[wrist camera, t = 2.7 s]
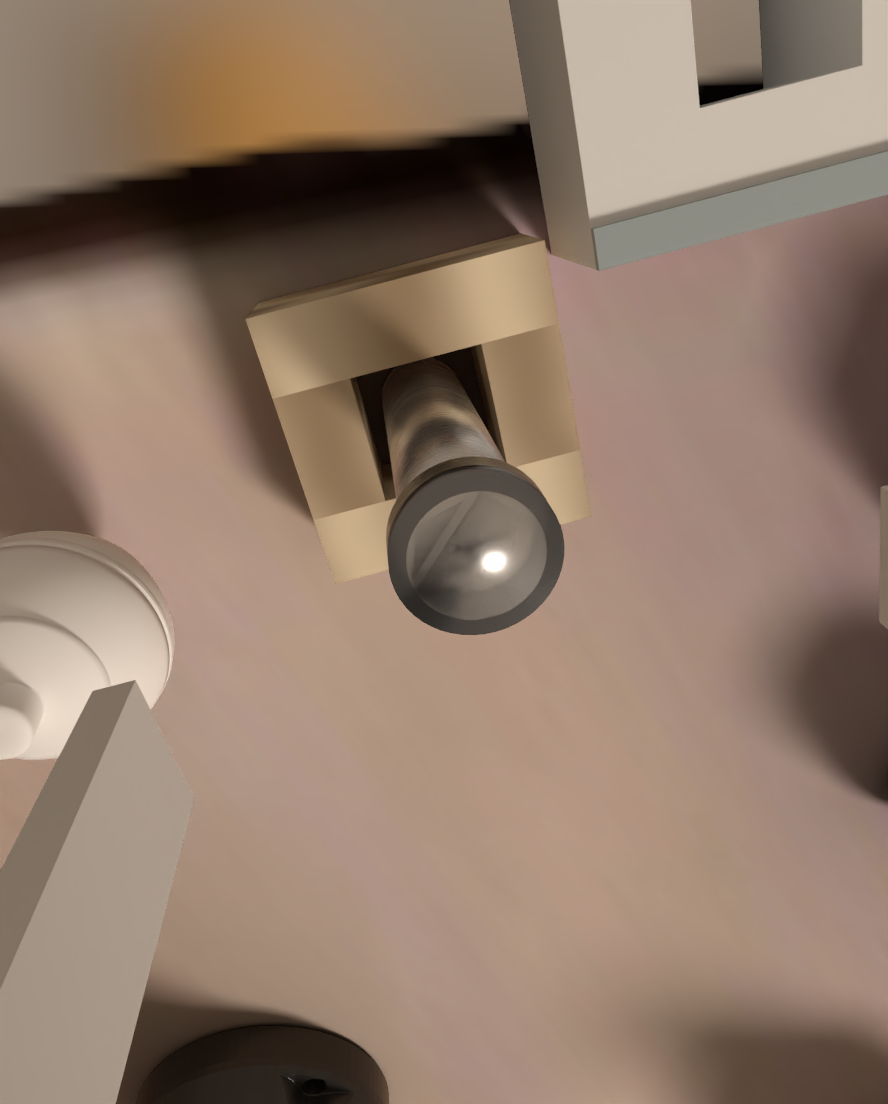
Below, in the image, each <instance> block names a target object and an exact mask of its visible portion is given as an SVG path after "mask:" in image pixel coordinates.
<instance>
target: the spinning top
mask: <svg viewBox="0 0 888 1104" xmlns="http://www.w3.org/2000/svg"><path fill="white" fill-rule="evenodd" d="M173 655H174V628H173V623H172V618H171V614H170V611H169V608H168V606H167V603H166V601H165V598H164V596H163V594H162V592H161V591H160V589H159V587H158V586H157V584H156V583H155V581H154V580H153V578H152V577H151V576H150V574H149V573H148V572H147V571H146V569H145V568H144V567H143V566H142V565H141V564H140V563H139V562H138V561H137V560H136V559H135V558H134V557H133V556H132V555H131V554H129V553H128V552H127V551H125V550H124V549H122V548H120V547H119V546H117V545H115V544H113V543H111V542H109V541H107V540H104V539H101V538H98V537H95V536H91V535H87V534H81V533H75V532H67V531H35V532H27V533H21V534H16V535H12V536H8V537H5V538H2V539H0V759H10V758H15V759H25V760H42V759H52V758H58V757H59V756H60V754H61V752H62V750H63V748H64V746H65V744H66V742H67V740H68V738H69V736H70V734H71V732H72V730H73V728H74V726H75V724H76V722H77V720H78V718H79V716H80V714H81V712H82V711H83V709H84V707H85V705H86V703H87V701H88V699H89V697H90V695H91V693H92V691H94V690H98V689H102V688H106V687H110V686H114V685H118V684H121V683H125V682H129V681H133V680H136V682H137V684H138V686H139V688H140V690H141V692H142V694H143V696H144V698H145V700H146V702H147V704H148V706H149V708H150V710H151V708H152V707H153V706H154V704H155V703H156V701H157V700H158V698H159V697H160V695H161V693H162V692H163V690H164V688H165V686H166V683H167V681H168V678H169V675H170V672H171V667H172V660H173Z"/></svg>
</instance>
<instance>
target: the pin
mask: <svg viewBox="0 0 888 1104" xmlns="http://www.w3.org/2000/svg"><path fill="white" fill-rule="evenodd" d="M382 405H383V412H384V419H385V425H386V432H387V439H388V446H389V452H390V459H391V466H392V473H393V480H394V486H395V493H396V502H395V504H394V506H393V507H392V510H391V513H390V516H389V519H388V523H387V528H386V547H387V557H388V567H389V574H390V578H391V582H392V584H393V587H394V589H395V592H396V593H397V595H398V597H399V599H400V600H401V601H402V603H403V604H404V605H405V607H406V608H407V609H408V610H409V611H410V612H411V613H412V614H413V615H414V616H416V617H417V618H418V619H420V620H421V621H423V622H424V623H426V624H428V625H430V626H432V627H434V628H437V629H439V630H442V631H446V632H449V633H454V634H461V635H478V634H487V633H491V632H496V631H499V630H502V629H505V628H508V627H510V626H512V625H514V624H516V623H518V622H520V621H521V620H523V619H525V618H526V617H527V616H529V615H530V614H531V613H533V612H534V611H535V610H536V609H537V608H538V607H539V606H540V605H541V604H542V603H543V602H544V601H545V599H546V598H547V597H548V596H549V594H550V593H551V591H552V590H553V588H554V586H555V584H556V582H557V580H558V578H559V575H560V572H561V569H562V565H563V559H564V539H563V533H562V530H561V526H560V523H559V521H558V519H557V516H556V514H555V513H554V511H553V510H552V508H551V506H550V505H549V503H548V502H547V500H546V498H545V497H544V495H543V494H542V492H541V490H540V489H539V487H538V486H537V485H536V484H535V483H534V481H533V480H532V479H531V478H529V477H528V476H527V475H526V474H525V473H524V472H522V471H521V470H519V469H518V468H516V467H514V466H512V465H510V464H508V463H506V462H505V461H504V459H503V457H502V455H501V454H500V452H499V450H498V448H497V447H496V445H495V443H494V441H493V439H492V438H491V436H490V434H489V432H488V431H487V429H486V427H485V425H484V423H483V422H482V420H481V418H480V416H479V415H478V413H477V411H476V409H475V407H474V406H473V404H472V402H471V400H470V399H469V397H468V395H467V393H466V391H465V390H464V388H463V386H462V384H461V383H460V381H459V379H458V377H457V376H456V374H455V373H454V372H453V370H452V369H451V368H450V367H449V366H447V365H446V364H445V363H443V362H441V361H439V360H437V359H434V358H426V359H422V360H418V361H414V362H411V363H407V364H403V365H399V366H397V367H395V368H394V369H393V370H392V371H391V373H390V374H389V375H388V377H387V379H386V381H385V383H384V386H383V391H382Z"/></svg>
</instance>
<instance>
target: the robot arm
mask: <svg viewBox="0 0 888 1104" xmlns="http://www.w3.org/2000/svg"><path fill="white" fill-rule="evenodd" d="M879 622H880V623H881V624H882V625H883V626H885V627H886V628H887V629H888V485H886V486H882V487H881V495H880V580H879ZM193 802H194V796H193V794H192V792H191V790H190V788H189V786H188V784H187V782H186V780H185V778H184V776H183V774H182V772H181V770H180V768H179V766H178V764H177V762H176V760H175V758H174V756H173V754H172V752H171V750H170V748H169V746H168V744H167V742H166V740H165V738H164V736H163V734H162V732H161V730H160V728H159V726H158V724H157V722H156V720H155V718H154V716H153V714H152V712H151V710H150V708H149V706H148V704H147V702H146V700H145V698H144V696H143V694H142V692H141V690H140V688H139V686H138V684H137V682H136V680H133V681H129V682H125V683H121V684H118V685H114V686H110V687H106V688H102V689H98V690H94V691H92V693H91V695H90V697H89V699H88V701H87V703H86V705H85V707H84V709H83V711H82V712H81V714H80V716H79V718H78V720H77V722H76V724H75V726H74V728H73V730H72V732H71V734H70V736H69V738H68V740H67V742H66V744H65V746H64V748H63V750H62V752H61V754H60V756H59V757H58V759H57V761H56V763H55V765H54V767H53V769H52V771H51V773H50V775H49V777H48V779H47V781H46V783H45V785H44V787H43V789H42V791H41V793H40V795H39V797H38V799H37V801H36V803H35V804H34V806H33V808H32V810H31V812H30V814H29V816H28V818H27V820H26V822H25V824H24V826H23V828H22V830H21V832H20V834H19V836H18V838H17V840H16V842H15V844H14V846H13V848H12V850H11V851H10V853H9V855H8V857H7V859H6V861H5V863H4V865H3V867H2V869H1V871H0V1104H116V1100H117V1096H118V1093H119V1089H120V1085H121V1081H122V1077H123V1073H124V1069H125V1066H126V1062H127V1058H128V1054H129V1050H130V1046H131V1042H132V1038H133V1035H134V1031H135V1027H136V1023H137V1019H138V1015H139V1011H140V1007H141V1004H142V1000H143V996H144V992H145V988H146V984H147V980H148V976H149V973H150V969H151V965H152V961H153V957H154V953H155V949H156V946H157V942H158V938H159V934H160V930H161V926H162V922H163V918H164V915H165V911H166V907H167V903H168V899H169V895H170V891H171V887H172V884H173V880H174V876H175V872H176V868H177V864H178V860H179V856H180V853H181V849H182V845H183V841H184V837H185V833H186V829H187V825H188V822H189V818H190V814H191V810H192V806H193ZM136 1104H389V1092H388V1086H387V1082H386V1080H385V1077H384V1075H383V1073H382V1071H381V1070H380V1068H379V1067H378V1065H377V1064H376V1063H375V1062H374V1061H373V1060H372V1059H371V1058H370V1057H369V1056H368V1055H367V1054H366V1053H365V1052H363V1051H362V1050H360V1049H359V1048H358V1047H356V1046H354V1045H352V1044H351V1043H349V1042H347V1041H345V1040H343V1039H340V1038H338V1037H335V1036H332V1035H330V1034H327V1033H323V1032H319V1031H315V1030H311V1029H305V1028H298V1027H288V1026H259V1027H248V1028H241V1029H236V1030H230V1031H226V1032H222V1033H218V1034H215V1035H212V1036H209V1037H206V1038H203V1039H201V1040H198V1041H196V1042H193V1043H191V1044H189V1045H187V1046H185V1047H183V1048H182V1049H180V1050H178V1051H176V1052H175V1053H173V1054H172V1055H170V1056H169V1057H168V1058H166V1059H165V1060H164V1061H163V1062H161V1063H160V1064H159V1065H158V1066H157V1067H156V1068H155V1069H154V1070H153V1071H152V1072H151V1074H150V1075H149V1076H148V1078H147V1079H146V1080H145V1082H144V1084H143V1086H142V1087H141V1090H140V1092H139V1095H138V1099H137V1103H136Z"/></svg>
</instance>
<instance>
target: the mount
mask: <svg viewBox="0 0 888 1104" xmlns="http://www.w3.org/2000/svg"><path fill="white" fill-rule="evenodd" d="M246 322H247V325H248V328H249V331H250V334H251V337H252V340H253V343H254V346H255V349H256V352H257V355H258V358H259V361H260V364H261V367H262V370H263V373H264V375H265V378H266V381H267V384H268V387H269V390H270V393H271V396H272V399H273V402H274V405H275V408H276V411H277V414H278V417H279V420H280V423H281V426H282V429H283V432H284V434H285V437H286V440H287V443H288V446H289V449H290V452H291V455H292V458H293V461H294V464H295V467H296V470H297V473H298V476H299V479H300V482H301V485H302V488H303V490H304V493H305V496H306V499H307V502H308V505H309V508H310V511H311V514H312V517H313V520H314V523H315V526H316V529H317V532H318V535H319V538H320V541H321V544H322V547H323V549H324V552H325V555H326V558H327V561H328V564H329V567H330V570H331V573H332V576H333V579H334V582H335V584H336V583H340V582H344V581H348V580H352V579H355V578H359V577H363V576H367V575H371V574H374V573H378V572H382V571H386V570H389V567H388V557H387V547H386V528H387V523H388V519H389V516H390V513H391V510H392V507H393V506H394V504H395V502H396V493H395V486H394V480H393V473H392V466H391V464H388V465H384V466H381V462H380V459H379V455H378V452H377V449H376V445H375V442H374V438H373V435H372V431H371V428H370V424H369V421H368V417H367V414H366V410H365V407H364V403H363V400H362V396H361V393H360V390H359V386H358V383H357V379H356V377H358V376H361V375H365V374H369V373H373V372H377V371H380V370H384V369H388V368H392V367H395V366H399V365H403V364H407V363H411V362H414V361H418V360H422V359H426V358H430V357H433V356H437V355H441V354H445V353H449V352H452V351H456V350H460V349H464V348H467V347H471V351H472V356H473V360H474V365H475V369H476V374H477V378H478V383H479V387H480V392H481V396H482V401H483V405H484V410H485V415H486V419H487V424H488V428H489V433H490V436H491V438H492V439H493V441H494V443H495V445H496V447H497V448H498V450H499V452H500V454H501V455H502V457H503V459H504V461H505V462H506V463H508V464H510V465H512V466H514V467H516V468H518V469H519V470H521V471H522V472H524V473H525V474H526V475H527V476H528V477H529V478H531V479H532V480H533V481H534V483H535V484H536V485H537V486H538V487H539V489H540V490H541V492H542V494H543V495H544V497H545V498H546V500H547V502H548V503H549V505H550V506H551V508H552V510H553V511H554V513H555V514H556V516H557V519H558V521H559V523H560V525H561V524H564V523H568V522H572V521H576V520H580V519H583V518H587V517H591V511H590V505H589V499H588V493H587V487H586V481H585V475H584V469H583V463H582V458H581V452H580V446H579V440H578V434H577V428H576V422H575V416H574V410H573V404H572V399H571V393H570V387H569V381H568V375H567V369H566V363H565V357H564V351H563V345H562V339H561V334H560V328H559V322H558V316H557V310H556V304H555V298H554V292H553V286H552V280H551V275H550V269H549V263H548V257H547V251H546V245H545V240H543V239H539V238H535V237H532V236H528V235H524V234H521V233H520V234H517V235H513V236H509V237H505V238H502V239H498V240H494V241H490V242H486V243H483V244H479V245H475V246H471V247H467V248H464V249H460V250H456V251H452V252H449V253H445V254H441V255H437V256H433V257H430V258H426V259H422V260H418V261H415V262H411V263H407V264H403V265H399V266H396V267H392V268H388V269H384V270H380V271H377V272H373V273H369V274H365V275H362V276H358V277H354V278H350V279H346V280H343V281H339V282H335V283H331V284H328V285H324V286H320V287H316V288H312V289H309V290H305V291H301V292H297V293H293V294H290V295H286V296H282V297H278V298H275V299H271V300H267V301H263V302H259V303H258V304H257V305H256V306H255V308H254V309H253V310H252V311H251V313H250V314H249V315H248V316H247V318H246Z"/></svg>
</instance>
